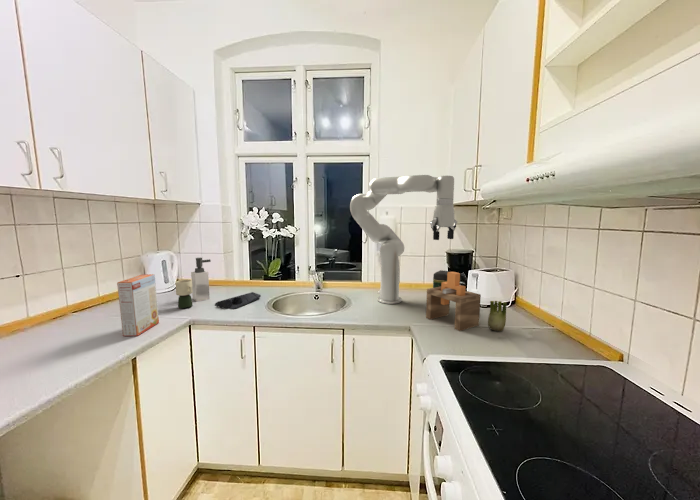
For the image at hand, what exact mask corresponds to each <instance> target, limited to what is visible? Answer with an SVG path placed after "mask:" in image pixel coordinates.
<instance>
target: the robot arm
mask: <svg viewBox="0 0 700 500" xmlns="http://www.w3.org/2000/svg"><path fill="white" fill-rule="evenodd" d="M413 192H417V193H418V192H419V193H420V192H422V193H423V192H425V193H430V194H431V193H436V205H435V206H434V210H433V216H432V217H433V218H432V220H431V221H430V222H429V224H430V227H431V229H432V230H431V231H432V232H433V233H432V236H433V237H432V240H433V241H434V240H435V241H439V240H440V229H441V228H447V236H446V237H447V239H449V240H454V232H455V230H456V227H457V224H458V221H457V220H456V219H455V206H454V195H455V194H454V193H455V178H454V176H453V175H440V176H438V177H436V176H432V175H430V174H417V175H404V176H386V177H385V176H383V177H375V178H373V179H371V180H370V182H369V191H368V192H367V193H358V194H357V193H356V195H354V196H352V198H351V200H350V204H349V210H350V214H351V216H352V218H353V220H354V221H355V222H356V223H357V224H358V225H359V227H360V228H361V229H362V231H363V232H364V233H365V234H366V235H367V237H368V238H369V239H370V241H372V242H373V243H375V244H376V243H380V244H381V246H380V248H379V259H380V288H379V290H378V291H377V294H378V295H379V296H378V297H377V298H376V299H377V301H378V302H379V303H382V304H388V305H394V304H395V305H396V304H399V303H401V302H403V300H402V298H401V297H400V259H399V256H402V254H403V253H404V252H405V245H404V243H403V241H402V240H401V238H400V237H399V236H398V234H396V232H395V231H394V230H393V229H392V228H391V227H390V226H388V225H387V224H384V223H379V221H378V220H377V219H376V218H375V217H374V216H373V214H371V213H370V212H369V211H371V210H373V209H374V208H375V207H376V206H378V204H380V202H381V201H383V200H384V199H385V197H387V196H388V195H402V194H405V193H413Z"/></svg>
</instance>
